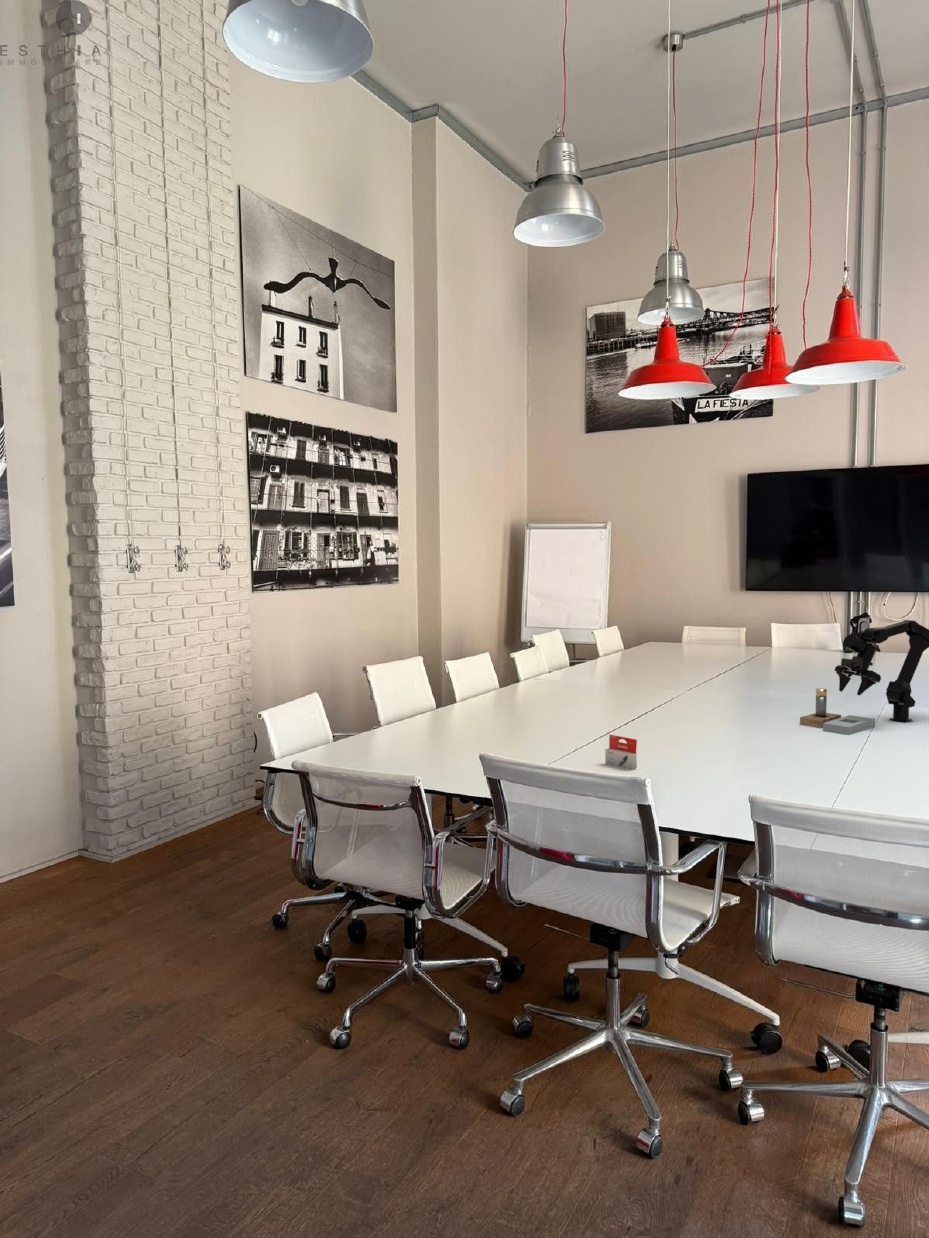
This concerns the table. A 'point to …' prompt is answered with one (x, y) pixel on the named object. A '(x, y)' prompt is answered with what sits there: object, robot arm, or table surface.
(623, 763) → the ink cartridge box
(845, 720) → the board
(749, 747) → the table surface
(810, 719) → the socket block
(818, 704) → the gold capped metal post
